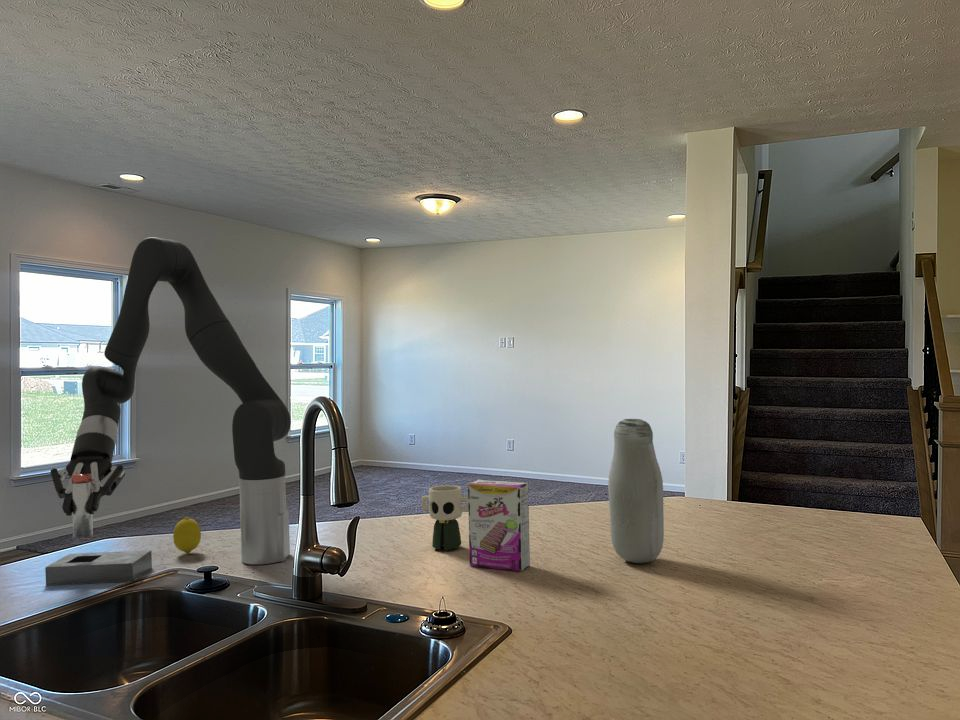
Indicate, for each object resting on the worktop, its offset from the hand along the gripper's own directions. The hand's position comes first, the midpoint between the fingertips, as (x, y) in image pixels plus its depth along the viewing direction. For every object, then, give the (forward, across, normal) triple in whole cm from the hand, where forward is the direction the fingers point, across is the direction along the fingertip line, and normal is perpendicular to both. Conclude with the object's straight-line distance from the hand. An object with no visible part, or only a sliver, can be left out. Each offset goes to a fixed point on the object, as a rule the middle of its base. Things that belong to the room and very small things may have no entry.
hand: (79, 512), depth 138 cm
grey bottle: (+26, +105, -8) cm, 109 cm away
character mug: (+10, +72, +8) cm, 73 cm away
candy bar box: (+22, +79, -4) cm, 82 cm away
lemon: (0, +17, +18) cm, 25 cm away
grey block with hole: (+8, +3, +10) cm, 14 cm away
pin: (+2, 0, +5) cm, 5 cm away
